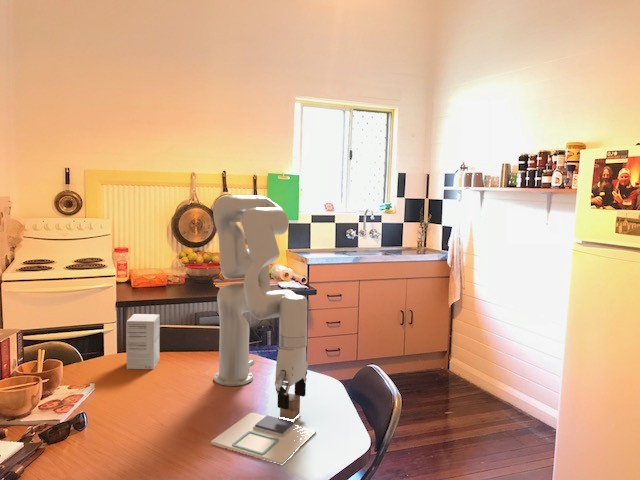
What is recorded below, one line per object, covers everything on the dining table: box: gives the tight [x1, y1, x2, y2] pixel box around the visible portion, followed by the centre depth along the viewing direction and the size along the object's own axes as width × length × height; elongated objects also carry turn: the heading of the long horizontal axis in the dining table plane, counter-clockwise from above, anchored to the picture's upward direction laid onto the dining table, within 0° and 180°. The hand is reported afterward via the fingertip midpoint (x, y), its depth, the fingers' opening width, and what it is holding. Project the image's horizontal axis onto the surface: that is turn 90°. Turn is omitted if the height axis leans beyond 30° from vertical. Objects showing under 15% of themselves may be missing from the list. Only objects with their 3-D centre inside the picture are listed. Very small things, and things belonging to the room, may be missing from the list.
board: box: [210, 411, 309, 464], centre depth 127 cm, size 18×20×2 cm
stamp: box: [279, 392, 301, 419], centre depth 139 cm, size 4×4×6 cm
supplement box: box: [125, 313, 161, 370], centre depth 173 cm, size 10×9×17 cm
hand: (291, 401), depth 138 cm, fingers open, 9 cm apart
